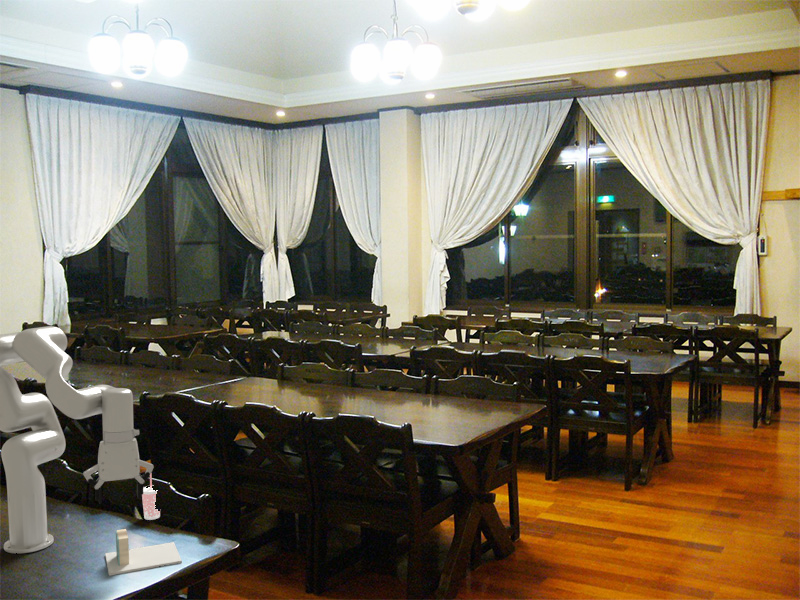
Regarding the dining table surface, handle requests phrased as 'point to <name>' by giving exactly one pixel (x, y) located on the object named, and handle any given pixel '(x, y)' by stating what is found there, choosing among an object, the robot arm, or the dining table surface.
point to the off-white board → (144, 558)
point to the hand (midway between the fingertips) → (119, 499)
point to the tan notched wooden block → (122, 547)
